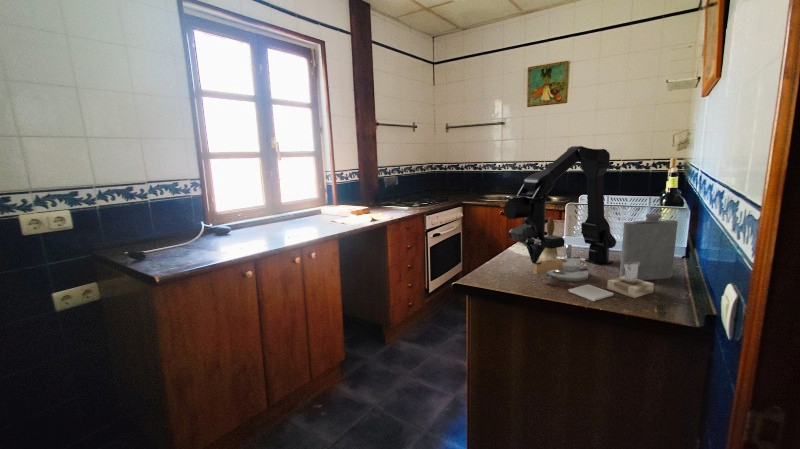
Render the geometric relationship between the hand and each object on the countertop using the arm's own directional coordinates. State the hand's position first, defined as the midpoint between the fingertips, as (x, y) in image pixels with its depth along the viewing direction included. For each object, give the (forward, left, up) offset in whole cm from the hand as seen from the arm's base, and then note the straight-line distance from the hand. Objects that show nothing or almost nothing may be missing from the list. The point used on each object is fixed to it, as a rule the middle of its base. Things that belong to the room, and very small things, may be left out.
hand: (534, 263), depth 119 cm
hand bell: (-17, -10, -4) cm, 20 cm away
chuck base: (-9, +5, -4) cm, 11 cm away
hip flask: (-27, +19, -4) cm, 34 cm away
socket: (-13, +23, -4) cm, 27 cm away
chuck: (-4, +6, -2) cm, 7 cm away
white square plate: (-2, +19, -4) cm, 20 cm away
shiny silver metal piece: (-13, +23, -4) cm, 27 cm away
